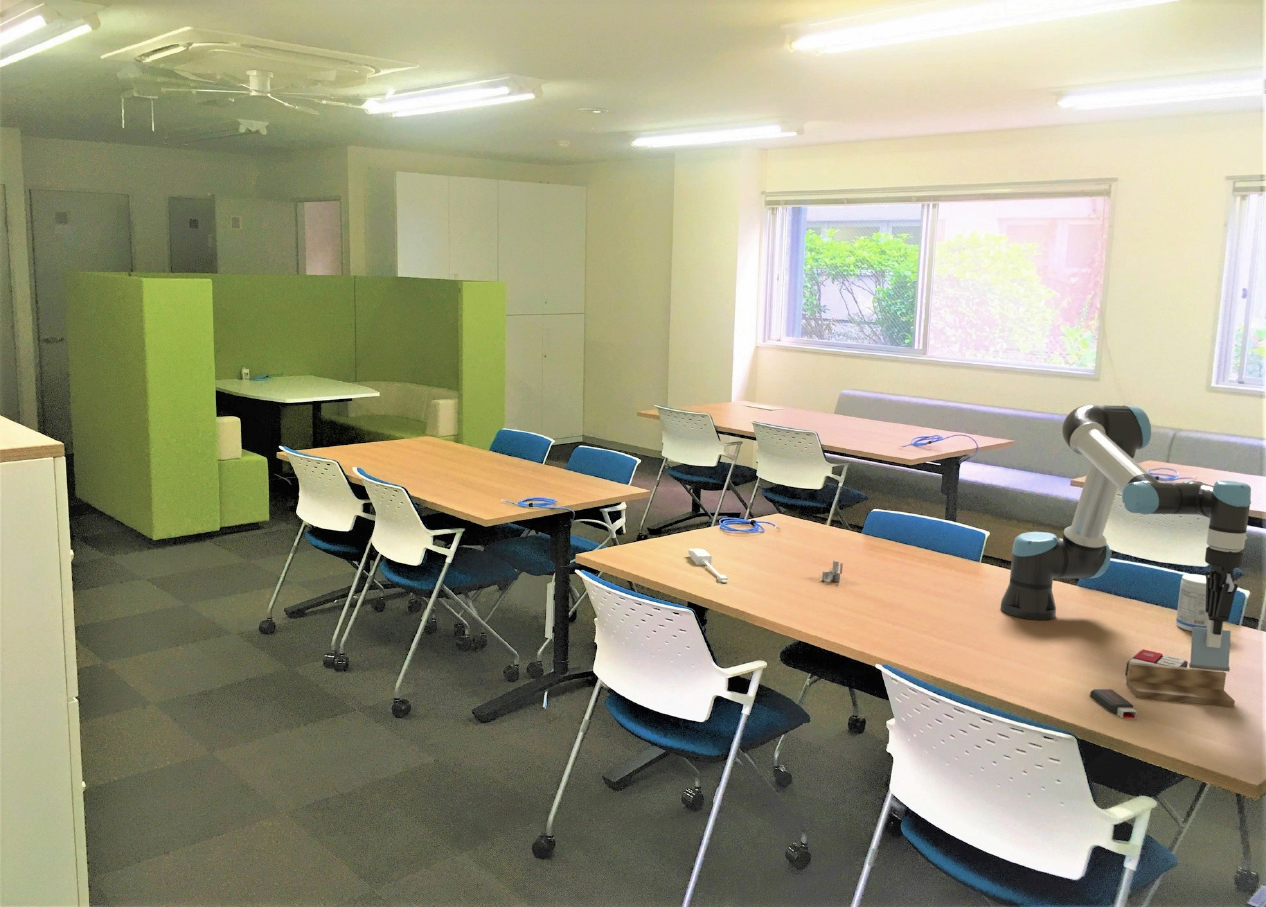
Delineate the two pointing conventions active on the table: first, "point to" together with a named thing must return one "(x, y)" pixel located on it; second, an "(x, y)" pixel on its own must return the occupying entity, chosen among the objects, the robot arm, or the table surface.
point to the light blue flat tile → (1209, 651)
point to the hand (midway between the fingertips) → (1212, 646)
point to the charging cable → (705, 562)
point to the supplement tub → (1192, 602)
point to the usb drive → (1113, 703)
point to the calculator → (1157, 659)
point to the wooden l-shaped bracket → (1178, 684)
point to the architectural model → (833, 573)
